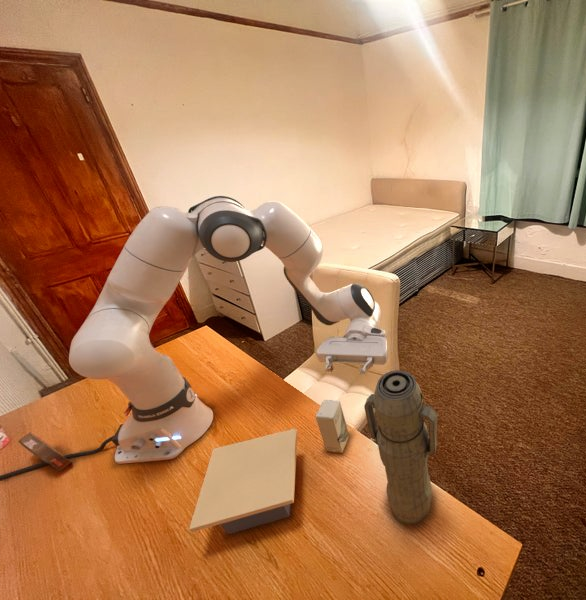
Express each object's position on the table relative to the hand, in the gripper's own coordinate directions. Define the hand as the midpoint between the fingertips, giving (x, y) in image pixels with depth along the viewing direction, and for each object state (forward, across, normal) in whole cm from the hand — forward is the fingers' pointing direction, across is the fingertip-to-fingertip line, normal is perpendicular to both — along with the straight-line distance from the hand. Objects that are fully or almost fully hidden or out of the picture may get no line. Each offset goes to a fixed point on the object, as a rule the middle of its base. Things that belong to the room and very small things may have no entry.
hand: (345, 371), depth 81 cm
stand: (+26, -13, +12) cm, 32 cm away
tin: (+25, -73, +12) cm, 78 cm away
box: (+12, 0, +13) cm, 18 cm away
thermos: (+24, +20, +13) cm, 33 cm away
